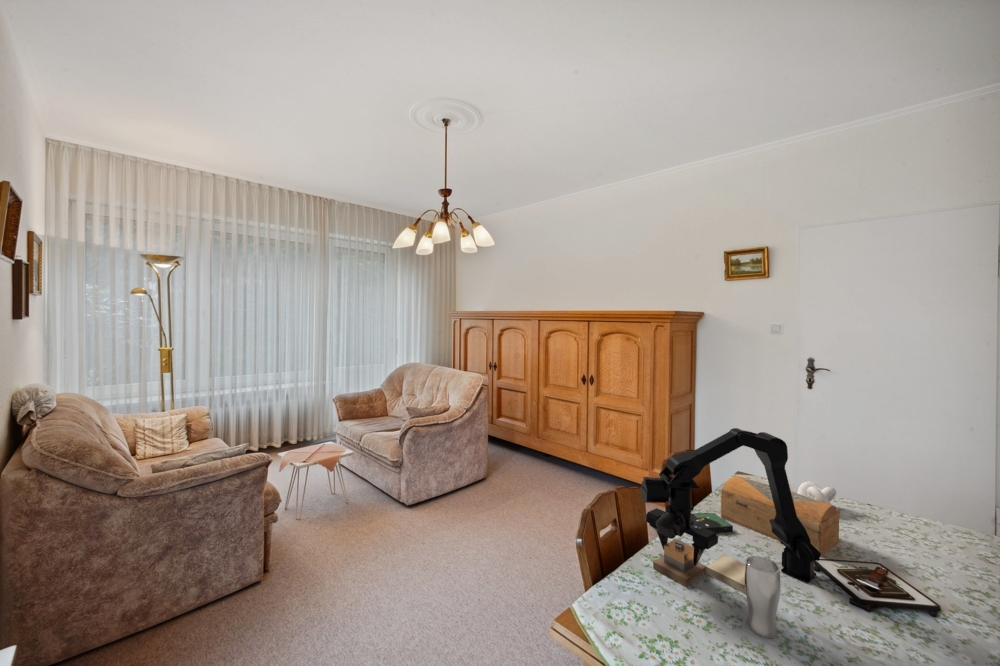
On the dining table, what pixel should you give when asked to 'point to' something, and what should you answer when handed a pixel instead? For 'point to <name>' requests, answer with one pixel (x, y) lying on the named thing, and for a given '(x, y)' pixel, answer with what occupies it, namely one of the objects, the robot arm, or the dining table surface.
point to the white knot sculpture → (817, 492)
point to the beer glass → (762, 595)
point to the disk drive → (711, 523)
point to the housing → (679, 555)
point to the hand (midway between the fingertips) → (679, 557)
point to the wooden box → (756, 508)
